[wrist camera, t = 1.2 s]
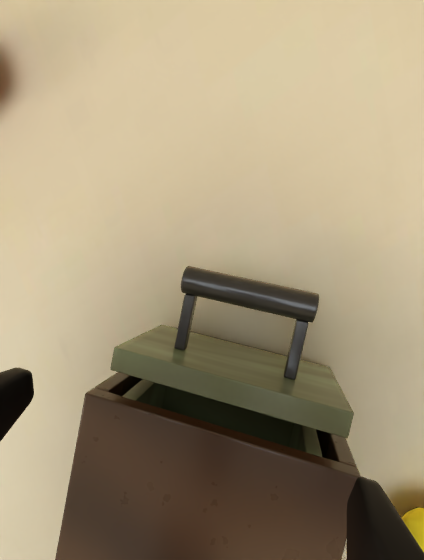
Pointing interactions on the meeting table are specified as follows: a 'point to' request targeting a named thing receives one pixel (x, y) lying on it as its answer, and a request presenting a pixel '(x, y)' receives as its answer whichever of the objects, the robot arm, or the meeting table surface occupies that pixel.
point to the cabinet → (197, 488)
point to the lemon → (416, 524)
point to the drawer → (238, 368)
